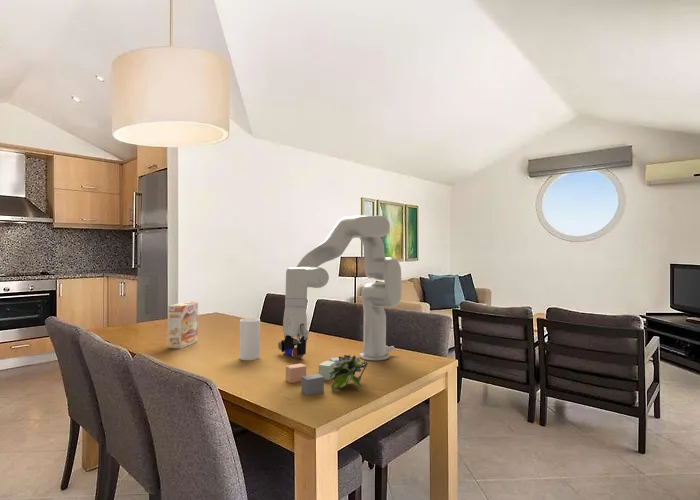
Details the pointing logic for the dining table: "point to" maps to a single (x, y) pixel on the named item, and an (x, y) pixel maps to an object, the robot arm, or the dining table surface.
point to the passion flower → (347, 371)
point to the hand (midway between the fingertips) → (294, 351)
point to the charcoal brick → (312, 384)
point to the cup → (249, 339)
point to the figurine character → (290, 351)
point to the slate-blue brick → (335, 360)
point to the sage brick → (326, 369)
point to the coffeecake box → (182, 324)
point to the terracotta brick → (295, 372)
